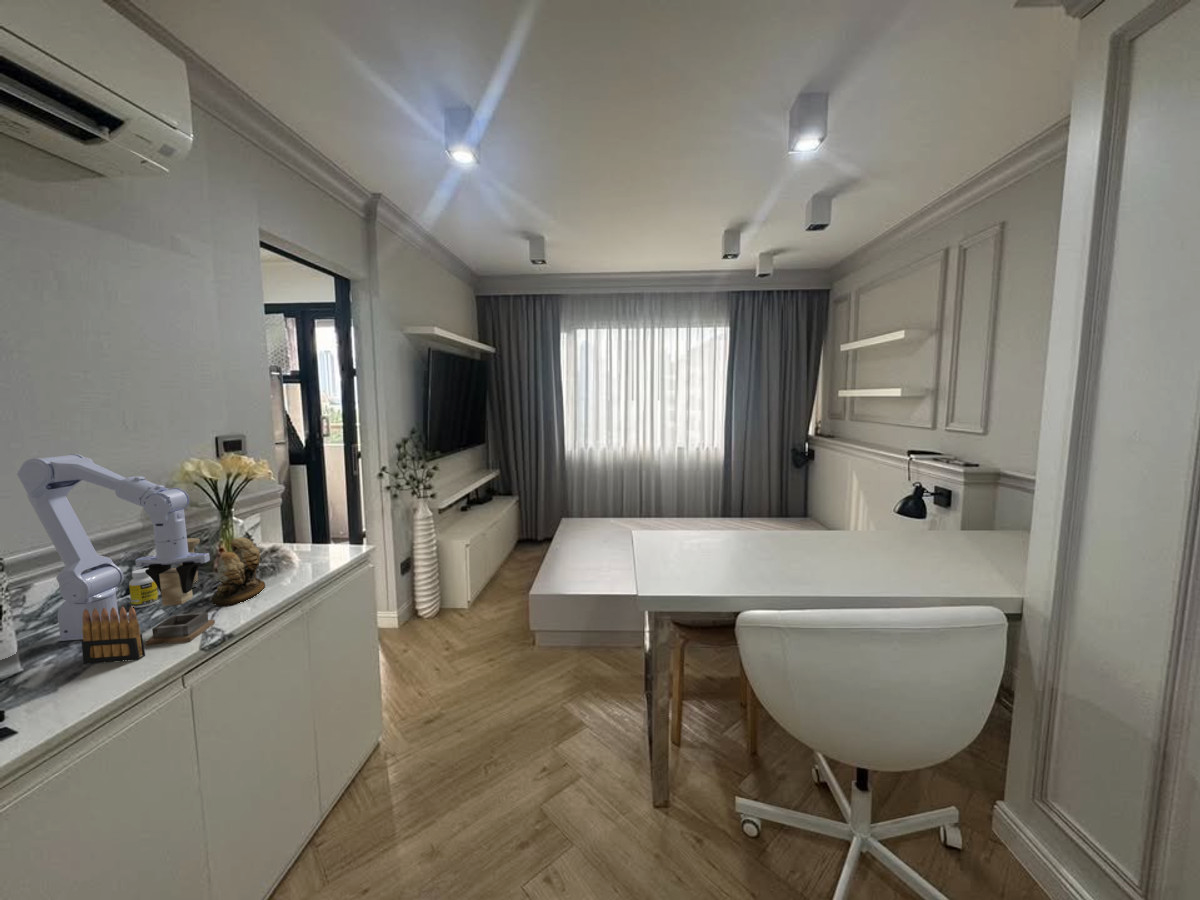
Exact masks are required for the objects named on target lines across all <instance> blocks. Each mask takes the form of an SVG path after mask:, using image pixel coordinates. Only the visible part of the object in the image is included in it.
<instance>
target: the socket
mask: <svg viewBox="0 0 1200 900" xmlns="http://www.w3.org/2000/svg"><path fill="white" fill-rule="evenodd" d="M214 623H215V619H209V615H208V612H207V611H205V612H192V613H191V612H190V613H179V614H178V613H177V614H173V615H172V616H170V617H168V618H167V619H166V620H163V621H162V622H160V623H159V624H157V625H155V626H154V627H152V628H151V630H152V637H150V638H148V639H147V640H146V641H145V646H153V645H165V644H174V643H175V644H176V643H184V642H185V643H186V642H187V643H188V642H191V641H194V640H195V639H196V638H197V637H198V636H200V635H201V634H203V633H204V632H205V631H206V629H207V630H208V629H209V628H210V626H211V627H212V626H213V625H215V624H216V623H215V624H214Z"/></svg>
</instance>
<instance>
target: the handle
mask: <svg viewBox="0 0 1200 900" xmlns="http://www.w3.org/2000/svg"><path fill="white" fill-rule="evenodd" d="M200 541H201V540H200V538H199V537H198V538H197V537H191V538H190V537H189V538H188V537H187V543H188V553H195V547H196V546H197V545H199V544H200ZM181 565H183V564H179V566H181ZM198 571H199V570H197V572H196V575H195V577H194V581H193V583H195V582H196V581H197V582H198V581H199V580H198V578H199V577H198V576H199V572H198ZM197 582H196V583H197Z"/></svg>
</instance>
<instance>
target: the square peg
mask: <svg viewBox="0 0 1200 900" xmlns="http://www.w3.org/2000/svg"><path fill="white" fill-rule="evenodd" d="M176 568H177V567H173V568H172V567H171V569H169V570H167V571H165V572H163V573H161V574H159V576H160V585H161V592H160V594H161V601H162V607H165V606H166V607H167V606H178V605H179V606H180V605H183V604H185V603H187V602H188V601H190V600H192V599H193V597H194V596H193V595H194V594H193V589H192V590H191V591H189V592H187V593H183V591H182V585H181V579H180V576H179V574H178V572H177V570H176Z"/></svg>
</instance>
